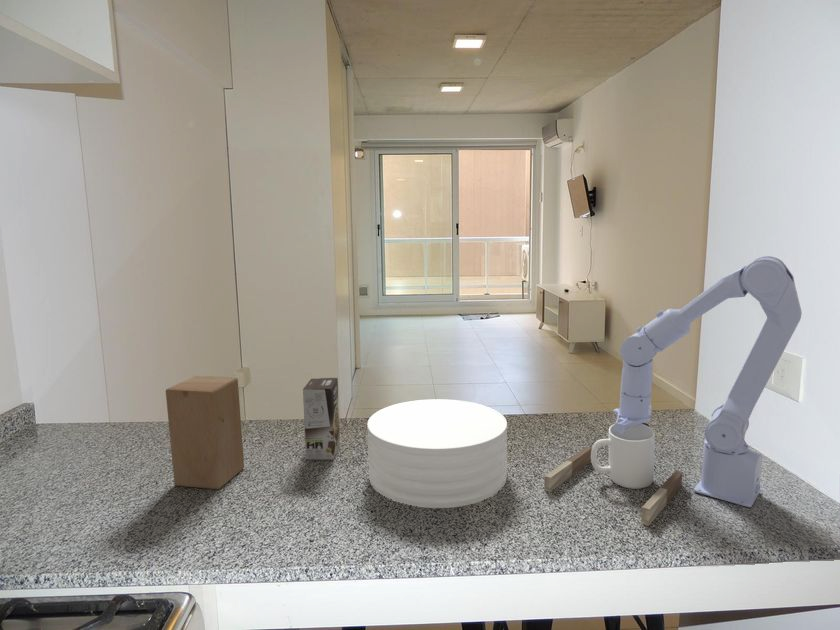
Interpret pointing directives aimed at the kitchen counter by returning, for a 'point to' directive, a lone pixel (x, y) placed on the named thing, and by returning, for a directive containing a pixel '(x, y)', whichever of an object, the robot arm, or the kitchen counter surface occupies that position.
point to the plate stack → (437, 452)
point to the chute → (648, 509)
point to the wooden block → (205, 431)
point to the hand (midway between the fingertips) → (630, 456)
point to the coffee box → (321, 418)
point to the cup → (628, 456)
